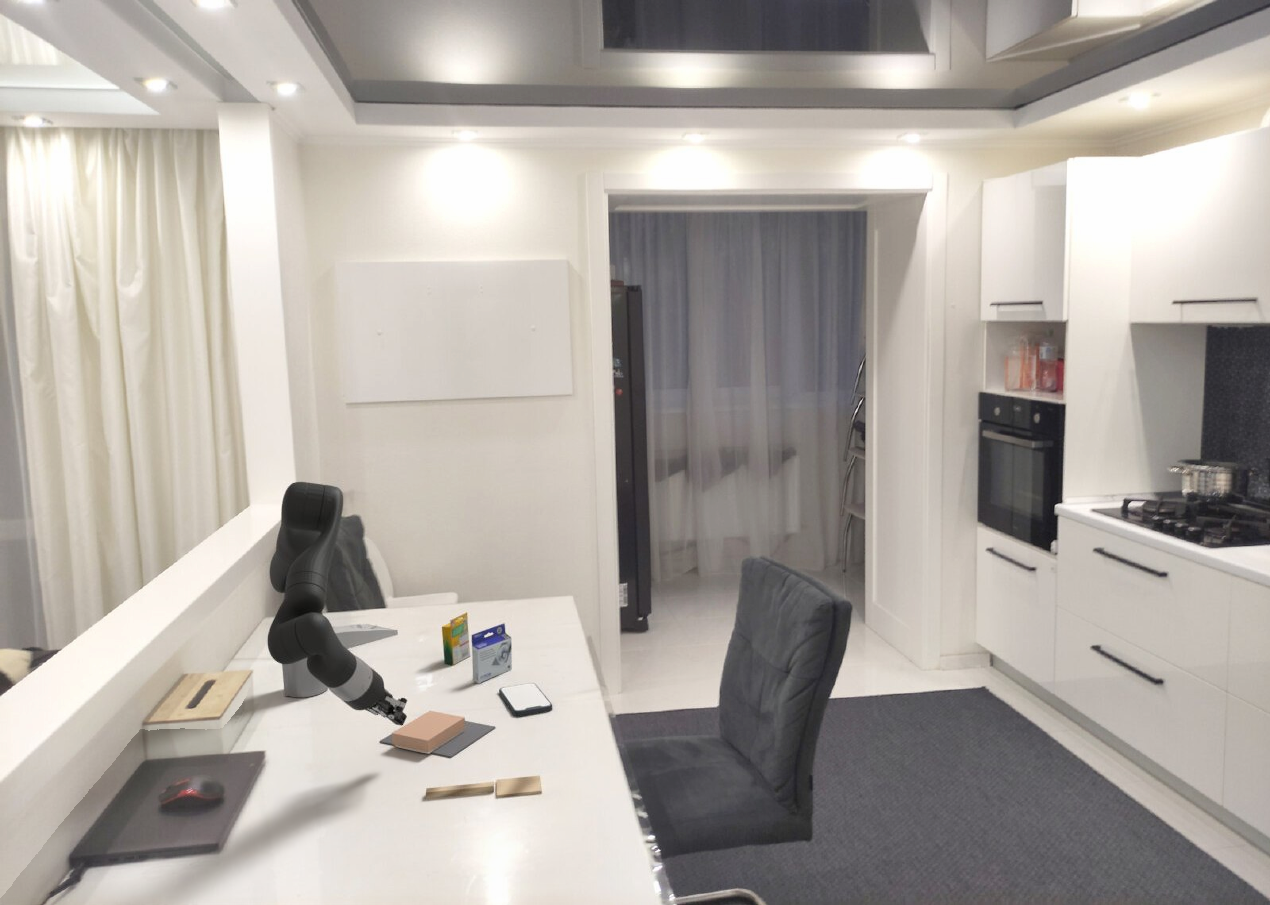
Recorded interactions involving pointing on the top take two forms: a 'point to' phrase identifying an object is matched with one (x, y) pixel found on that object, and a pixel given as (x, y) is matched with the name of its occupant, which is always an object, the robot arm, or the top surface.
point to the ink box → (491, 653)
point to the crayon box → (456, 640)
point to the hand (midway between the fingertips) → (401, 720)
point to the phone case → (525, 699)
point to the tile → (428, 732)
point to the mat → (457, 739)
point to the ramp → (361, 634)
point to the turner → (491, 788)
